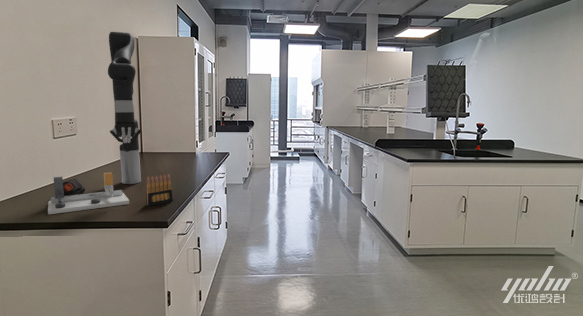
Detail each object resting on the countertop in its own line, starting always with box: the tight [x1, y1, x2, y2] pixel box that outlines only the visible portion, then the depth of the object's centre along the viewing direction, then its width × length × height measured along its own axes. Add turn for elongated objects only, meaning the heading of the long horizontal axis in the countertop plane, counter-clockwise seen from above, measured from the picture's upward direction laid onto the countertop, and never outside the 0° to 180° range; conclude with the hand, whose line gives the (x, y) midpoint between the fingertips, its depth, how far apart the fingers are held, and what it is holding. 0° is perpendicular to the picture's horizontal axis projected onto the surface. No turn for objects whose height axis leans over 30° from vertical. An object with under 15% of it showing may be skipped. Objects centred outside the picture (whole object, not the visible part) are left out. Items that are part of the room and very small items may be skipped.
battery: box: [63, 178, 86, 196], centre depth 165 cm, size 12×8×7 cm
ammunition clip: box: [145, 173, 174, 207], centre depth 152 cm, size 11×2×12 cm, turn 135°
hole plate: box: [47, 192, 130, 215], centre depth 151 cm, size 16×28×3 cm, turn 122°
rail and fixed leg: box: [50, 176, 123, 204], centre depth 150 cm, size 11×26×10 cm, turn 122°
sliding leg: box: [103, 171, 114, 197], centre depth 154 cm, size 11×3×8 cm, turn 32°
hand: (126, 151), depth 160 cm, fingers closed
